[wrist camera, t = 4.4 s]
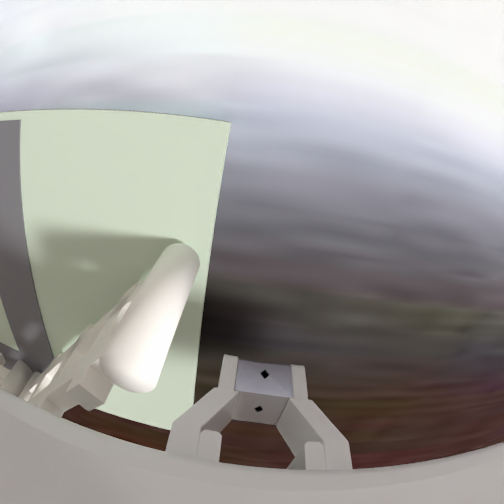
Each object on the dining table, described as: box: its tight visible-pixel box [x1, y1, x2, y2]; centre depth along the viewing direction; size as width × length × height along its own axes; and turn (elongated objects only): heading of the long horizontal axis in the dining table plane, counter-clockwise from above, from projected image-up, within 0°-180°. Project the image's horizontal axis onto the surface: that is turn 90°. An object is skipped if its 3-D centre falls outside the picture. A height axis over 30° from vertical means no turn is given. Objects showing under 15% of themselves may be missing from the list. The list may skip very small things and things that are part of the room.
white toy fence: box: [19, 243, 200, 417], centre depth 12 cm, size 18×2×6 cm, turn 130°
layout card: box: [0, 109, 231, 430], centre depth 14 cm, size 20×24×1 cm
